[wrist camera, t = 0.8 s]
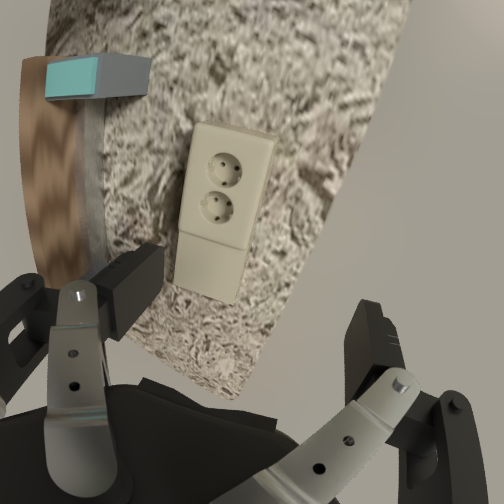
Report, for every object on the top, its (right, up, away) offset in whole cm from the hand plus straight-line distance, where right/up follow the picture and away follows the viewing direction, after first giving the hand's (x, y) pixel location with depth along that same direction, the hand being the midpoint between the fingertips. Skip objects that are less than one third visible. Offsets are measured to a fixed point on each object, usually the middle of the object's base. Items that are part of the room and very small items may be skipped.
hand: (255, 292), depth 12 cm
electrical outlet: (-3, +6, +20) cm, 21 cm away
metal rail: (-19, +10, +22) cm, 30 cm away
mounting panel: (-20, +10, +22) cm, 31 cm away
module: (-14, +20, +15) cm, 29 cm away
